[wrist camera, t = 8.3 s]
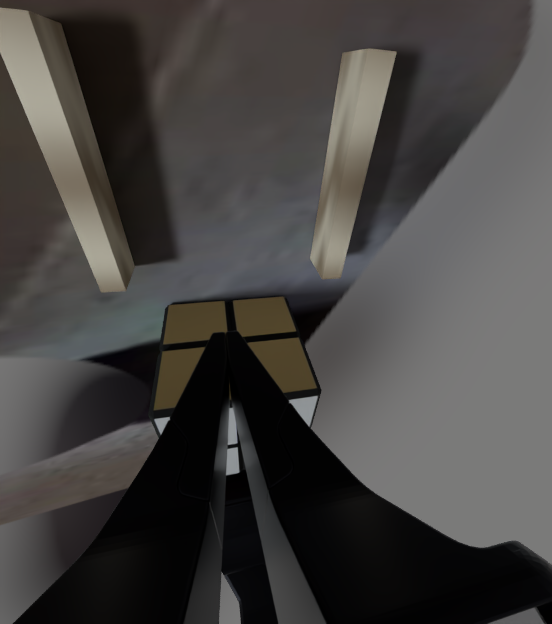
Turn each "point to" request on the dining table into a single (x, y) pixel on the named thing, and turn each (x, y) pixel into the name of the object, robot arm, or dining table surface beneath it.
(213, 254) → the dining table surface
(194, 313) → the puzzle cube
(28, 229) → the dining table surface
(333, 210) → the lane rails
